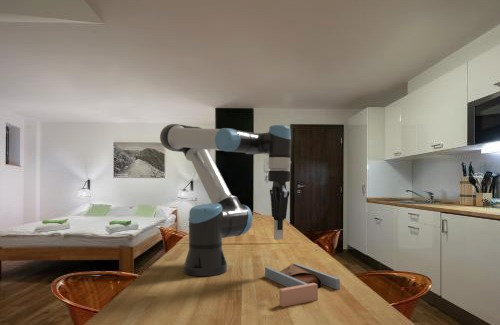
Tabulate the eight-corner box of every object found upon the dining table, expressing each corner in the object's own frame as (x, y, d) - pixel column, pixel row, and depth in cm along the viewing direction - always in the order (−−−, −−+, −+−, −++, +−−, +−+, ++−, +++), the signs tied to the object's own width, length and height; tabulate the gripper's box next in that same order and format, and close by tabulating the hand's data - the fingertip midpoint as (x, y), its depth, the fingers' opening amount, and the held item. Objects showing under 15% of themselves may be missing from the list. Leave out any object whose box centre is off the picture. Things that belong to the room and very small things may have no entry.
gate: (282, 307, 84) (282, 290, 84) (279, 305, 85) (279, 288, 86) (317, 299, 89) (317, 284, 89) (314, 298, 90) (313, 282, 91)
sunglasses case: (270, 275, 113) (279, 256, 115) (286, 283, 115) (295, 265, 117) (297, 291, 96) (307, 269, 98) (315, 301, 98) (324, 279, 100)
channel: (305, 295, 92) (305, 284, 92) (264, 276, 112) (264, 267, 112) (339, 289, 98) (339, 278, 98) (295, 271, 117) (295, 263, 118)
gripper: (297, 170, 111) (296, 242, 110) (282, 170, 123) (281, 235, 123) (275, 169, 109) (274, 243, 108) (263, 170, 121) (262, 236, 120)
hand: (278, 239), depth 115 cm, fingers closed
